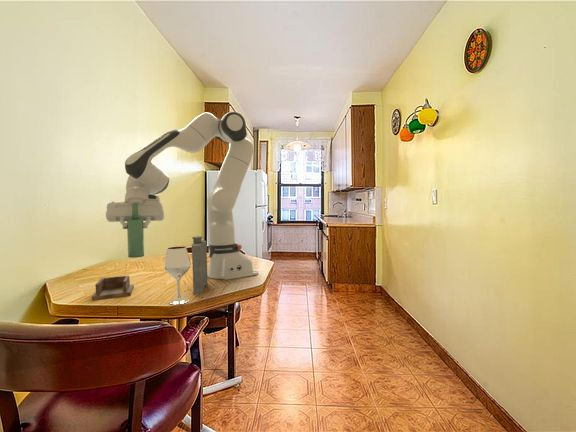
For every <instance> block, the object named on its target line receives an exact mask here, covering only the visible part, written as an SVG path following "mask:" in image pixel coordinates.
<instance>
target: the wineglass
mask: <svg viewBox="0 0 576 432" xmlns="http://www.w3.org/2000/svg"><path fill="white" fill-rule="evenodd" d="M189 255H190V254H189V251H188V249H187V246H172V247H167V249H166V253H165V259H164V263H163V267H164V270H165V271H166V272H167V273H168V274H169V275H170V276H172V278H174V279H175V281H176V286H177V298H175V299H174V298H173V299H171V300H169V301H168V304H169V305H173V306H177V305H178V306H179V305H184V304H187V303H189V302H190V299H189V298H186V297H181V285H180V283H181V282H180V281H181V278H182V277H184V275H185V274H187V273H188V271H190V268H191V266H192V265H191V259H190V256H189Z"/></svg>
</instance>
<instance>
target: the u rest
mask: <svg viewBox="0 0 576 432" xmlns="http://www.w3.org/2000/svg"><path fill="white" fill-rule="evenodd" d="M130 281H131V280H130V275H129V274H128V275H120V276H109V277H100V278H99V280H98V281H97V282H96V284H95V292H94V293H93V295H91V300H92V301H95V300H102V299H111V298H112V297H113V298H121V297H128V296H131V295H132V294H133V293H132V292H133V291H134V287H135V285H134V284H130V283H131V282H130ZM132 290H133V291H132Z"/></svg>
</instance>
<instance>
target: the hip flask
mask: <svg viewBox="0 0 576 432" xmlns="http://www.w3.org/2000/svg"><path fill="white" fill-rule="evenodd" d="M191 239H192V242H193V243H191V261H192V265H191V266H192V288H193V295H196V294H197V295H202V294H203V290H204V288H205V287H206V286H207V285H208V284H209V281H208V280H209V277H208V275H207V274H208V251H207V240H202V239H203V236H192V238H191ZM205 285H206V286H205ZM204 286H205V287H204ZM201 293H202V294H201Z"/></svg>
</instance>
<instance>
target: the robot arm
mask: <svg viewBox="0 0 576 432" xmlns="http://www.w3.org/2000/svg"><path fill="white" fill-rule="evenodd" d="M246 124H247V123H246V120H245V118H244V116H243V115H242V114H241V113H240V112H238V111H231V112H230V111H229V112H227V113H225V114H224V115H223V116H222V118H218V117H216V116H215V115H214V114H213V113H211V112H207V111H206V112H203V113H201V114H199V115H197V116H196V117H195V118H193V119H192V121H191V122H189V123H188V124H187V125H186V126H184V128H182V129H179V130H178V129H171V130H169V131H166V132H165V133H164V134H163V135H161V136H159V137H158V138H156V139H154V140H153V141H151V142H150V143H149V144H147V145H146V146H145V147H144V148H142V149H140V150H139V151H136V152H134V153H133V154H130V156H128V157H127V158H126V160H125V162H124V169H125V173H126V174H127V175H128V177H127V181H126V185H125V191H126V192H125V193H124V194H125V195H124V201H111V202H108V203H107V205H106V212H105V219H106V221H107V222H109V223H114V222H117V223H119V222H120V224H121V225H122V230H127V220H132V204H138V219H143V229H148V226H149V225H150V223H152V222H154V221H155V222H156V221H157V222H158V221H159V222H160V221H163V220H165V213H164V207H163V203H162V202H161V197H160V196H159V195H158V194H160V193H161V194H162V193H163V192H164V191H166V190H167V189H168V187H169V183H170V176H169V175H168V174H167V173H166V171H164V170H163V169H162V168H161V167H160V166H159V165H157V164H156V163H155V162H154V161H153V159H154V158H155V157H157V156H158V155H159V154H160V153H162V152H164V151H165V150H166V149H168V148H170V147H171V148H173V147H174V148H177V149H180V150H182V151H184V152H186V153H192V154H195V153H198V152H201V151H202V150H203V149H204V148H205V147H206V146H207V145H208V144H209V143H210V142H211V141H212V140H213V139H214V138H215V139H216V140H217V139H218V140H220V141H221V142H223V143H225V144H228V145H229V146H228V147H229V148H228V151H227V154H226V156H225V157H224V159H223V163H222V165H221V167H220V170H219V172H218V174H217V178H216V180H215V183H214V185H213V187H212V190H211V192H210V193H209V194H208V196H207V201H206V202H207V217H208V218H207V219H208V230H209V231H208V232H209V237H208V238H209V244H208V257H209V264H208V265H209V266H208V269H207V275H208V279H215V280H216V279H218V280H226V281H227V280H233V279H239V278H245V277H250V276H251V277H252V276H257V275H258V274H259V271H258V270H257V269H256V268H255V267H254V266H253V262H252V260H251V259H250V258H249V257H248V256H246V255H245V254H244V253H243V252H241V251H240V250H242V244H237V243H236V240H235V239H236V237H235V236H236V235H235V223H234V214H233V209H234V207H235V205H236V202H237V199H238V197H239V194H240V191H241V187H242V184H243V182H244V179H245V176H246V174H247V172H248V170H249V167H250V164H251V162H252V158H253V155H254V151H255V146H254V143H253V142H252V141H251V140H250V139H248V138H246V137H247V136H248V133H247V125H246Z"/></svg>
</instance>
